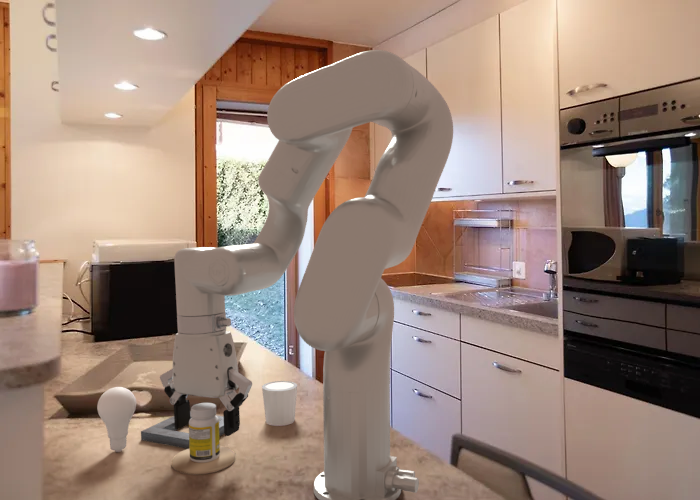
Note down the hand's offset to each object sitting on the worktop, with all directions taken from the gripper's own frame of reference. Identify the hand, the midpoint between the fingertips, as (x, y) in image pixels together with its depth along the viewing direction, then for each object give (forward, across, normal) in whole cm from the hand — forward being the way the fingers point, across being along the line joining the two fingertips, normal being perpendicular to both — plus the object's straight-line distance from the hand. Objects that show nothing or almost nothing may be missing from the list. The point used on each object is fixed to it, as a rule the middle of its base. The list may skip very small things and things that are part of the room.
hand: (206, 429), depth 93 cm
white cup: (+6, -1, -21) cm, 22 cm away
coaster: (+5, +1, 0) cm, 5 cm away
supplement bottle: (+5, +1, 0) cm, 5 cm away
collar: (+5, +11, -9) cm, 15 cm away
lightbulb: (+5, +17, +2) cm, 18 cm away
